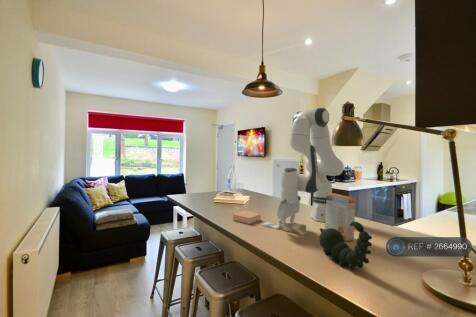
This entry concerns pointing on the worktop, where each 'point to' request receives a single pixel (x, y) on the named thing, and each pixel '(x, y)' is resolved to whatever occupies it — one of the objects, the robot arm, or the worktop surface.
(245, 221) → the tile
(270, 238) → the worktop surface
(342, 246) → the toy figurine
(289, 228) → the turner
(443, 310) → the worktop surface
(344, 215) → the cracker box
